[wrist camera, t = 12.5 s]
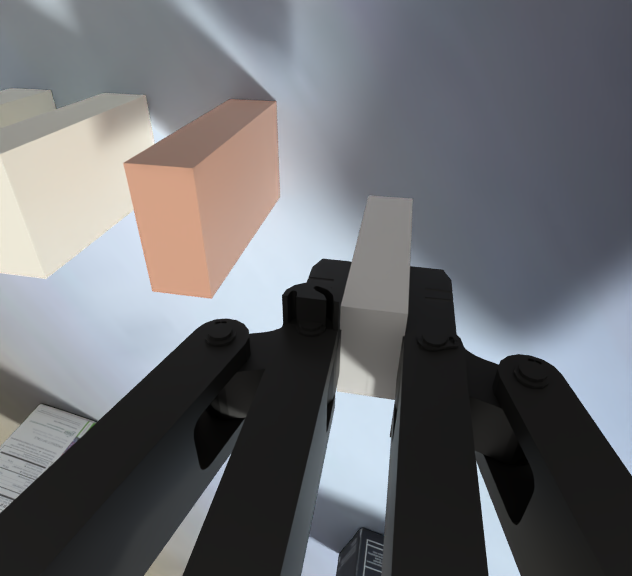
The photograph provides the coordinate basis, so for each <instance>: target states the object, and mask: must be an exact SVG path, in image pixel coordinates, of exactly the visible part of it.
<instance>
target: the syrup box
mask: <svg viewBox="0 0 632 576" xmlns="http://www.w3.org/2000/svg"><path fill="white" fill-rule="evenodd" d="M96 423H97V422H94V421H91V420H89V419H85V418H83V417H80V416H77V415H74V414H71V413H68V412H65V411H62V410H59V409H56V408H52V407H49V406H46V405H43V404H40V405H39V406H38V407H37V408H36V409H35V410H34V411H33V412H32V413H31V414H30V415H29V416H28V417H27V418H26V419H25V421H24V422H23V423H22V424H21V425H20V426H19V427H18V428H17V429H16V430H15V431H14V432H13V433H12V434H11V435H10V437H9V438H8V439H7V440H6V441H5V442H4V443H3V444H2V445H1V446H0V513H1V512H2V511H3V510H4V509H5V508H6V507H7V506H8V505H9V504H10V503H11V502H12V501H14V500H15V499H16V498H17V497H18V496H19V495H20V494H21V493H22V492H23V491H24V490H25V489H26V488H27V487H28V486H30V485H31V484H32V483H33V482H34V481H35V480H36V479H37V478H38V477H39V476H40V475H41V474H42V473H43V472H44V471H46V470H47V469H48V468H49V467H50V466H51V465H52V464H53V463H54V462H55V461H56V460H57V459H58V458H59V457H60V456H62V455H63V454H64V453H65V452H66V451H67V450H68V449H69V448H70V447H71V446H72V445H73V444H74V443H75V442H76V441H78V440H79V439H80V438H81V437H82V436H83V435H84V434H85V433H86V432H87V431H88V430H89V429H90V428H91V427H92V426H94V425H95V424H96Z"/></svg>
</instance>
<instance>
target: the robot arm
mask: <svg viewBox="0 0 632 576" xmlns="http://www.w3.org/2000/svg"><path fill="white" fill-rule="evenodd" d="M412 207H413V199H410V198H397V197H385V196H372V195H368V199H367V203H366V207H365V211H364V215H363V219H362V223H361V227H360V231H359V235H358V239H357V243H356V247H355V251H354V255H353V259H352V262H350V261H341V260H331V259H322V260H321V261H319V262H318V263H317V264H315V265H314V266H313V267H312V270H311V272H310V275H309V279H308V280H307V283H302V284H298V285H294V286H292V287H290V288H289V289H287V290H286V291H285V292H284V294H283V295H282V304H283V326H282V328H280V329H277V330H274V331H269V332H263V333H253V334H249V330H248V328H247V327H246V326H245V325H244V324H243V323H241V322H239V321H237V320H232V319H216V320H213V321H210V322H207V323H205V324H203V325H202V326H200V327H199V328H197V329H196V330H195V331H194V332H193V333H192V334H191V335H190V336H189V337H187V338H186V339H185V340H184V341H183V342H182V343H181V344H180V345H179V346H178V347H177V348H176V349H175V350H174V351H173V352H171V353H170V354H169V355H168V356H167V357H166V358H165V359H164V360H163V361H162V362H161V363H160V364H159V365H158V366H157V367H155V368H154V369H153V370H152V371H151V372H150V373H149V374H148V375H147V376H146V377H145V378H144V379H143V380H142V381H141V382H139V383H138V384H137V385H136V386H135V387H134V388H133V389H132V390H131V391H130V392H129V393H128V394H127V395H126V396H125V397H123V398H122V399H121V400H120V401H119V402H118V403H117V404H116V405H115V406H114V407H113V408H112V409H111V410H110V411H109V412H107V413H106V414H105V415H104V416H103V417H102V418H101V419H100V420H99V421H98V422H97V423H96V424H95V425H94V426H92V427H91V428H90V429H89V430H88V431H87V432H86V433H85V434H84V435H83V436H82V437H81V438H80V439H79V440H78V441H76V442H75V443H74V444H73V445H72V446H71V447H70V448H69V449H68V450H67V451H66V452H65V453H64V454H63V455H62V456H60V457H59V458H58V459H57V460H56V461H55V462H54V463H53V464H52V465H51V466H50V467H49V468H48V469H47V470H46V471H44V472H43V473H42V474H41V475H40V476H39V477H38V478H37V479H36V480H35V481H34V482H33V483H32V484H31V485H30V486H28V487H27V488H26V489H25V490H24V491H23V492H22V493H21V494H20V495H19V496H18V497H17V498H16V499H15V500H14V501H12V502H11V503H10V504H9V505H8V506H7V507H6V508H5V509H4V510H3V511H2V512H1V513H0V576H144V575H145V573H146V572H147V570H148V569H149V568H150V566H151V565H152V563H153V562H154V561H155V559H156V558H157V556H158V555H159V554H160V552H161V551H162V549H163V548H164V546H165V545H166V544H167V542H168V541H169V539H170V538H171V537H172V535H173V534H174V532H175V531H176V530H177V528H178V527H179V525H180V524H181V523H182V521H183V520H184V518H185V517H186V516H187V514H188V513H189V511H190V510H191V509H192V507H193V506H194V504H195V503H196V502H197V500H198V499H199V497H200V496H201V495H202V493H203V492H204V490H205V489H206V488H207V486H208V485H209V483H210V482H211V481H212V479H213V478H214V476H215V475H216V474H217V472H218V471H219V469H220V468H221V467H222V465H223V464H224V462H225V461H226V460H227V458H228V457H229V455H230V454H231V456H230V458H229V461H228V463H227V466H226V468H225V471H224V473H223V476H222V478H221V481H220V483H219V486H218V488H217V491H216V493H215V496H214V498H213V501H212V503H211V506H210V508H209V511H208V513H207V516H206V518H205V521H204V523H203V526H202V528H201V531H200V533H199V536H198V538H197V541H196V543H195V546H194V548H193V551H192V553H191V556H190V558H189V561H188V563H187V566H186V568H185V571H184V573H183V576H301V573H302V568H303V563H304V558H305V553H306V548H307V543H308V538H309V533H310V528H311V523H312V518H313V513H314V508H315V503H316V498H317V493H318V488H319V483H320V478H321V473H322V468H323V463H324V458H325V453H326V448H327V443H328V438H329V433H330V428H331V423H332V418H333V413H334V408H335V392H336V388H337V391H338V392H344V393H351V394H358V395H365V396H372V397H379V398H386V399H392V400H395V404H394V411H393V418H392V425H391V431H390V437H391V448H390V462H389V476H388V490H387V504H386V518H385V532H384V546H383V560H382V574H381V576H488V567H487V558H486V548H485V539H484V530H483V521H482V511H481V502H480V493H479V484H478V475H477V465H476V461H477V464H478V467H479V469H480V472H481V474H482V477H483V479H484V482H485V485H486V487H487V490H488V492H489V495H490V497H491V500H492V503H493V505H494V508H495V510H496V513H497V516H498V518H499V521H500V523H501V526H502V528H503V531H504V534H505V536H506V539H507V541H508V544H509V546H510V549H511V552H512V554H513V557H514V559H515V562H516V564H517V567H518V570H519V572H520V575H521V576H632V476H631V474H630V473H629V471H628V470H627V468H626V467H625V465H624V464H623V463H622V461H621V460H620V458H619V457H618V455H617V454H616V452H615V451H614V449H613V448H612V447H611V445H610V444H609V442H608V441H607V439H606V438H605V436H604V435H603V434H602V432H601V431H600V429H599V428H598V426H597V425H596V423H595V422H594V420H593V419H592V418H591V416H590V415H589V413H588V412H587V410H586V409H585V407H584V406H583V404H582V403H581V402H580V400H579V399H578V397H577V396H576V394H575V393H574V391H573V390H572V388H571V387H570V386H569V384H568V383H567V381H566V380H565V378H564V377H563V375H562V374H561V373H560V372H559V371H558V370H557V369H556V368H555V367H554V366H552V365H551V364H549V363H547V362H546V361H544V360H542V359H539V358H536V357H533V356H530V355H520V354H517V355H511V356H507V357H506V358H504V359H503V360H501V361H500V364H499V365H498V364H496V363H493V362H490V361H487V360H484V359H482V358H480V357H477V356H475V355H473V354H472V353H470V352H469V351H467V350H466V349H465V348H464V346H463V343H462V341H461V338H459V337H458V336H457V334H456V324H455V314H454V304H453V293H452V283H451V279H450V278H449V277H448V275H447V274H446V273H445V272H444V270H441V269H431V268H421V267H411V266H410V254H411V231H412Z"/></svg>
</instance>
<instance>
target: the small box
mask: <svg viewBox="0 0 632 576" xmlns="http://www.w3.org/2000/svg"><path fill="white" fill-rule="evenodd" d="M383 546H384V536H383V535H380V534H377V533H375V532H372V531H370V530H367V529H364V528H362V529H360V530H359V531H357V533H356V535H355V536H354V537H353V539H352V540H351V541H350V542H349V543H348V544H347V546H346V547H344V548H343V550H342V551H341V553H340V554H339V557H338V565H337V572H336V576H381V574H382V560H383Z"/></svg>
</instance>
